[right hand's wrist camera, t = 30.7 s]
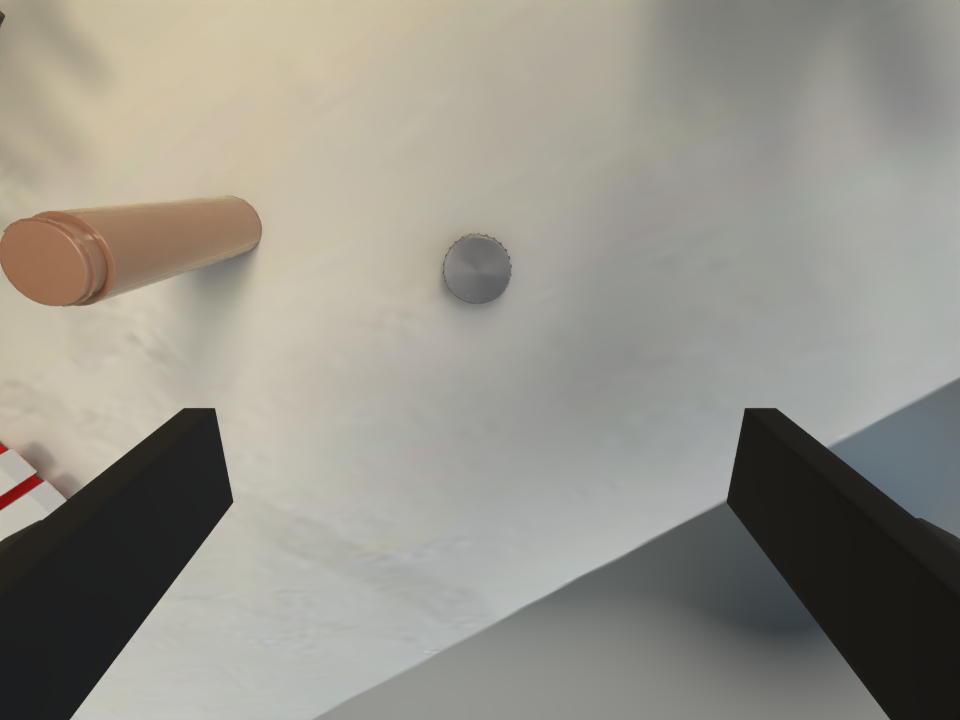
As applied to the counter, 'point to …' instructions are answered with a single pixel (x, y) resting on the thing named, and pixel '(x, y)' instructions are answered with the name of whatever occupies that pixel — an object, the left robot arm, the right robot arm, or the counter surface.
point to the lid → (477, 268)
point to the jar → (122, 247)
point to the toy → (23, 494)
